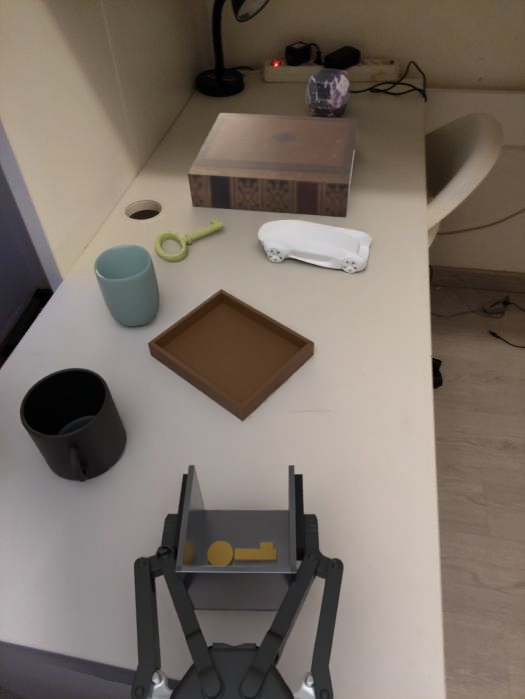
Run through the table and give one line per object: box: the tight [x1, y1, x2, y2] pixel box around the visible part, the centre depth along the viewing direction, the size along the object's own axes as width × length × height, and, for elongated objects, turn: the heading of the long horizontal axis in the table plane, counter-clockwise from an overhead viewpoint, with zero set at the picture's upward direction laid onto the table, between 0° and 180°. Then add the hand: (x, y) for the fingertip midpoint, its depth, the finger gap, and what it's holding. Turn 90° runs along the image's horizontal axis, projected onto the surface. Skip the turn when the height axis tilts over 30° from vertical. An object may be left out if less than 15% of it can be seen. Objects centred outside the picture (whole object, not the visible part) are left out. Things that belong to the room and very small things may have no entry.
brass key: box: [207, 541, 277, 566], centre depth 49 cm, size 6×2×1 cm, turn 89°
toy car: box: [257, 219, 373, 274], centre depth 86 cm, size 18×8×4 cm, turn 75°
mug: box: [19, 367, 127, 483], centre depth 60 cm, size 9×12×9 cm
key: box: [154, 217, 224, 263], centre depth 91 cm, size 7×12×2 cm, turn 137°
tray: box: [147, 288, 315, 422], centre depth 72 cm, size 17×14×2 cm
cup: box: [93, 244, 160, 327], centre depth 76 cm, size 8×8×10 cm
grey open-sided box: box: [175, 464, 298, 612], centre depth 46 cm, size 9×9×9 cm
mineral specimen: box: [305, 67, 351, 118], centre depth 119 cm, size 10×10×10 cm
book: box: [187, 112, 359, 218], centre depth 102 cm, size 24×28×6 cm
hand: (243, 481), depth 48 cm, fingers closed on grey open-sided box, 9 cm apart
